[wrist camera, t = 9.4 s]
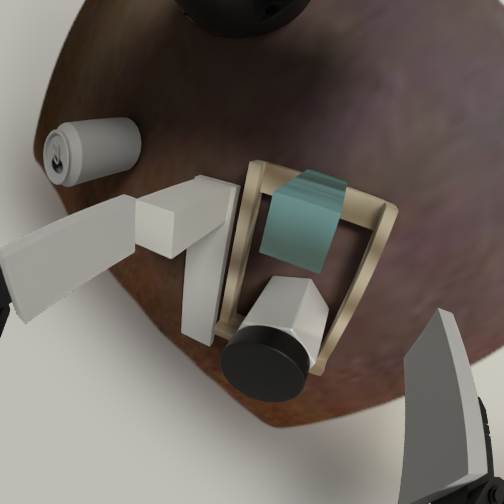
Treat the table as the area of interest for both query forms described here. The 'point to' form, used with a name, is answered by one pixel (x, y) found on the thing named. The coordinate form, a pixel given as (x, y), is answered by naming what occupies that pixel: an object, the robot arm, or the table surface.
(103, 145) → the can
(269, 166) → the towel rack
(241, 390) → the jar
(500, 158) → the table surface
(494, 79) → the table surface
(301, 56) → the table surface
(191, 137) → the table surface
